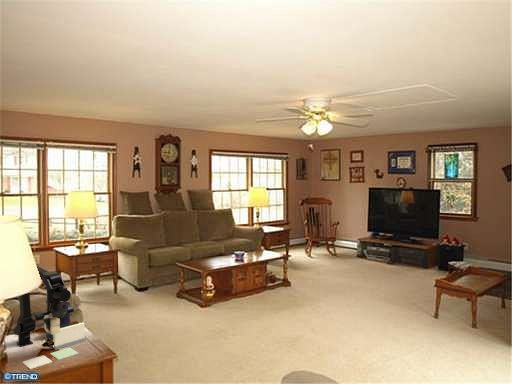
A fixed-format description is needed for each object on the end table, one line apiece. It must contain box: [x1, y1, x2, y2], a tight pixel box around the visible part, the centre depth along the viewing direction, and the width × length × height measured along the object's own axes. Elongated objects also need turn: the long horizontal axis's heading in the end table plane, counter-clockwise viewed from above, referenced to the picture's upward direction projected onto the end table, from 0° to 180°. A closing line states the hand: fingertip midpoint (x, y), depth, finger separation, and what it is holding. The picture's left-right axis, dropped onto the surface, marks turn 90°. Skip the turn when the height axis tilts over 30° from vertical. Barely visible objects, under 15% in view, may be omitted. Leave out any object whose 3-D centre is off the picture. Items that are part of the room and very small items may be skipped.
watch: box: [43, 322, 53, 340], centre depth 231 cm, size 6×8×11 cm
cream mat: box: [21, 354, 53, 370], centre depth 202 cm, size 10×10×1 cm
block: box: [47, 317, 60, 335], centre depth 210 cm, size 5×4×7 cm
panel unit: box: [53, 321, 87, 351], centre depth 226 cm, size 12×16×10 cm
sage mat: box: [49, 346, 79, 361], centre depth 211 cm, size 10×10×1 cm
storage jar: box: [51, 301, 71, 328], centre depth 243 cm, size 10×10×15 cm
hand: (53, 329), depth 210 cm, fingers closed on block, 4 cm apart
